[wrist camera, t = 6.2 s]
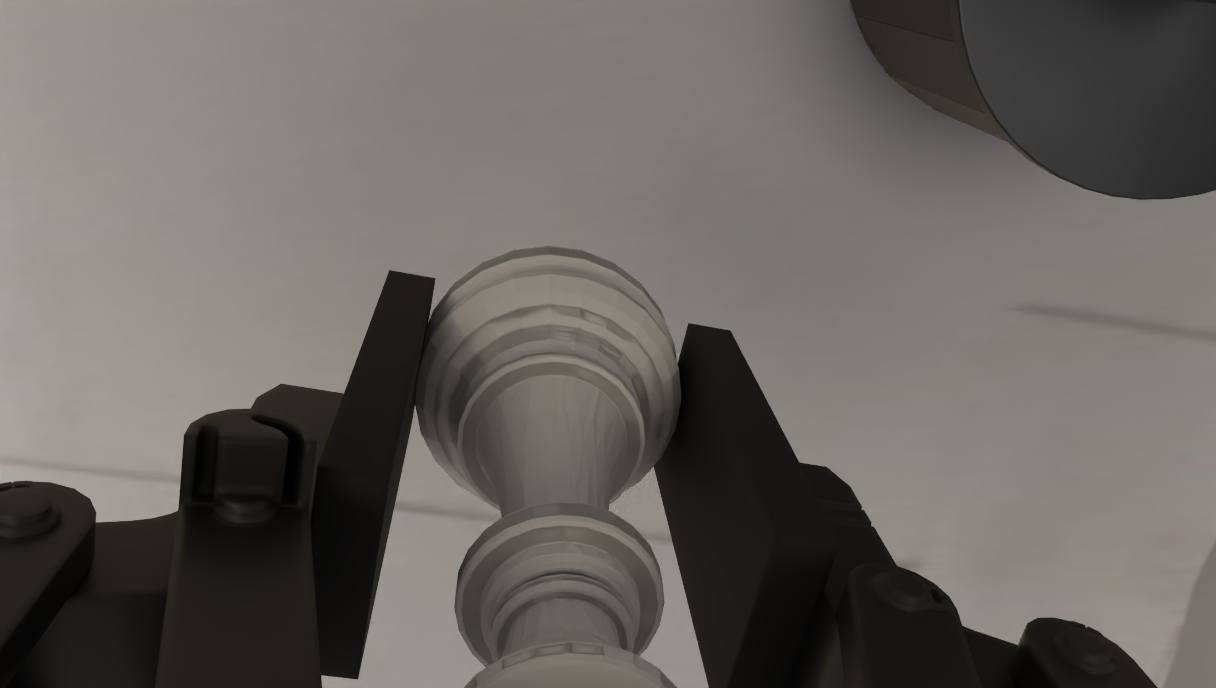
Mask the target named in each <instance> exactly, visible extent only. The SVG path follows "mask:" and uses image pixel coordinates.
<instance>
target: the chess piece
mask: <svg viewBox="0 0 1216 688" xmlns="http://www.w3.org/2000/svg"><path fill="white" fill-rule="evenodd" d="M680 404H681V387H680V376H679V367H678V364H677V362H676V352H675V346H674V343H673V340H672V337H671V335H670V332H669V330H668V327H667V325H666V322H665V320H664V317H663V314H662V312H661V309H660V308H659V307H658V305H657V304H656V303H655V301H654V300H653V299H652V298H651V296H650V295H649V294H648V292H647V291H646V290H645V288H644V287H643V286H642V285H641V283H640V282H638V281H637V280H636V279H634V278H633V277H632V276H630V275H629V274H628V273H626V272H625V271H624V270H622V269H621V268H620V267H618V266H617V265H616V264H614V263H613V262H610V261H608V260H605V259H603V258H600V257H598V256H595V255H593V254H590V253H588V252H585V251H583V250H576V249H568V248H561V247H553V246H543V247H535V248H527V249H519V250H513V251H510V252H508V253H505V254H503V255H500V256H498V257H495V258H493V259H490V260H488V261H485V262H483V263H481V264H480V265H478V266H477V267H476V268H474V269H473V270H472V271H470V272H469V273H467V274H466V275H465V276H463V277H462V278H461V279H459V280H458V281H457V282H455V283H454V284H453V286H452V287H451V288H450V290H449V291H448V292H447V293H446V295H445V296H444V297H443V299H442V300H441V301H440V302H439V304H438V305H437V306H436V307H435V309H434V310H433V313H432V315H431V318H430V320H429V323H428V326H427V331H426V336H425V342H424V348H423V354H422V359H421V362H420V366H419V372H418V378H417V384H416V395H415V406H416V411H417V416H418V421H419V425H420V430H421V434H422V436H423V438H424V440H425V442H426V444H427V445H428V447H429V449H430V451H431V453H432V455H433V457H434V459H435V461H436V462H437V463H438V464H439V465H440V466H441V467H442V468H443V469H444V470H445V471H446V473H447V474H448V475H449V476H450V477H451V478H452V479H453V480H454V481H455V482H456V483H457V484H458V485H459V486H461V487H463V488H464V489H466V490H467V491H469V492H470V493H472V494H474V495H475V496H477V497H478V498H480V499H482V500H483V501H485V502H487V503H488V504H490V505H492V506H493V507H495V508H496V509H498V510H500V511H501V514H502V518H501V519H500V520H498V521H497V522H495V523H494V524H493V525H491V526H490V527H488V528H487V529H486V530H485V531H484V532H483V533H482V534H481V535H480V537H479V538H478V539H477V540H476V541H475V542H474V544H473V545H472V546H471V547H470V548H469V549H468V551H467V554H466V556H465V558H464V560H463V562H462V565H461V567H460V569H459V572H458V580H457V588H456V597H455V607H454V608H455V613H456V618H457V623H458V628H459V631H460V633H461V635H462V637H463V638H464V640H465V642H466V644H467V646H468V647H469V649H470V651H471V653H472V654H473V655H474V656H475V657H476V658H477V659H478V660H479V661H480V662H481V663H482V664H483V665H484V666H485V667H486V668H485V669H484V670H482V671H481V672H479V673H478V674H476V675H475V676H474V677H473V679H472V680H471V681H470V682H469V683H468V684H467V685H466V686H465V687H464V688H677V687H676V686H675V685H674V684H673V683H672V682H671V681H670V680H669V679H668V678H667V677H666V676H665V674H664V673H663V672H662V671H661V670H660V669H659V668H657V667H655V666H654V665H652V664H651V663H649V662H647V661H646V660H644V659H642V658H641V657H639V656H640V655H641V654H642V653H643V652H644V651H645V650H646V649H647V647H648V646H649V644H650V642H651V640H652V638H653V636H654V635H655V633H656V631H657V629H658V627H659V625H660V620H661V616H662V611H663V606H664V594H663V584H662V577H661V572H660V568H659V565H658V562H657V560H656V558H655V556H654V553H653V551H652V549H651V547H650V545H649V544H648V543H647V541H646V540H645V539H644V538H643V537H642V536H641V535H640V533H639V532H638V531H637V530H636V529H635V528H634V527H633V526H632V525H631V524H629V523H628V522H626V521H624V520H623V519H621V518H620V517H618V516H617V515H615V514H614V513H612V512H610V511H608V510H609V504H611V503H612V502H614V501H615V500H616V499H617V498H618V497H619V496H620V495H621V494H622V493H623V492H625V491H626V490H627V489H629V488H630V487H632V486H633V485H635V484H636V483H638V482H639V481H640V480H641V479H642V478H643V477H644V476H645V475H646V474H647V473H648V472H649V470H650V469H651V468H652V467H653V466H654V465H655V464H656V463H657V462H658V460H659V459H660V458H661V457H662V455H663V453H664V451H665V449H666V447H667V445H668V443H669V441H670V439H671V437H672V435H673V433H674V431H675V429H676V424H677V419H678V414H679V409H680Z"/></svg>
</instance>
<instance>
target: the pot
mask: <svg viewBox="0 0 1216 688" xmlns="http://www.w3.org/2000/svg"><path fill="white" fill-rule="evenodd" d="M851 3H852V6H853V10H854V13H855V16H856V20H857V23H858V25H859V28H860V30H861V32H862V34H863V36H864V39H865V41H866V43H867V45H868V46H869V48H870V50H871V51H872V53H873V54H874V56H875V57H876V59H877V61H878V62H879V63H880V64H881V65H882V67H883V68H884V69H885V71H886V73H888V74H889V76H890V77H892V78H893V79H894V80H895V81H897V82H898V83H899V84H900V85H901V86H902V87H903V88H905V89H906V90H907V91H909V92H910V93H912V94H913V95H915V96H916V97H918V98H920V99H921V100H923V101H924V102H925V103H927V104H928V105H929V106H931V107H932V108H933V109H935V110H937V111H939V112H941V113H943V114H946V115H948V116H950V117H952V118H955V119H957V120H959V121H962V122H964V123H966V124H968V125H971V126H973V127H975V128H977V129H980V130H982V131H984V132H986V133H989V134H991V135H993V136H996V137H998V138H1000V139H1002V140H1005V141H1006V139H1005V138H1004V137H1003V136H1002V135H1001V133H1000V132H999V131H998V130H997V129H996V127H995V126H994V125H993V124H992V123H991V121H990V120H989V119H988V118H987V116H986V114H985V113H984V111H983V109H982V108H981V106H980V104H979V103H978V101H977V99H976V98H975V96H974V94H973V92H972V90H971V87H970V85H969V83H968V80H967V78H966V75H965V73H964V71H963V68H962V66H961V63H960V59H959V55H958V51H957V47H956V44H955V40H954V36H953V30H952V22H951V14H950V6H949V0H851ZM1007 142H1008V141H1007Z"/></svg>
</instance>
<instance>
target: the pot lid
mask: <svg viewBox="0 0 1216 688" xmlns="http://www.w3.org/2000/svg"><path fill="white" fill-rule="evenodd" d="M949 6H950V14H951V22H952V30H953V36H954V40H955V44H956V47H957V51H958V55H959V59H960V63H961V66H962V68H963V71H964V73H965V75H966V78H967V80H968V83H969V85H970V87H971V90H972V92H973V94H974V96H975V98H976V99H977V101H978V103H979V104H980V106H981V108H982V109H983V111H984V113H985V114H986V116H987V118H988V119H989V120H990V121H991V123H992V124H993V125H994V126H995V127H996V129H997V130H998V131H999V132H1000V133H1001V135H1002V136H1003V137H1004V138H1005V139H1006V141H1008V142H1009V143H1010V144H1011V145H1012V146H1013V147H1014V148H1015V149H1017V150H1018V151H1019V152H1020V153H1021V154H1022V155H1023V156H1024V157H1026V158H1027V159H1028V160H1030V161H1031V162H1033V163H1034V164H1036V165H1038V166H1039V167H1041V168H1042V169H1044V170H1045V171H1047V172H1049V173H1050V174H1052V175H1054V176H1057V177H1059V178H1061V179H1063V180H1066V181H1068V182H1070V183H1072V184H1075V185H1077V186H1079V187H1082V188H1084V189H1087V190H1091V191H1094V192H1098V193H1102V194H1106V195H1109V196H1114V197H1123V198H1131V199H1140V200H1144V199H1173V198H1179V197H1186V196H1193V195H1199V194H1203V193H1207V192H1210V191H1214V190H1216V0H949Z"/></svg>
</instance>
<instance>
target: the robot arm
mask: <svg viewBox="0 0 1216 688" xmlns="http://www.w3.org/2000/svg"><path fill="white" fill-rule="evenodd" d="M434 284H435V278H430V277H424V276H419V275H413V274H407V273H402V272H396V271H390V270H389V273H388V276H387V279H386V281H385V284H384V287H383V289H382V292H381V295H380V298H379V300H378V303H377V306H376V308H375V311H374V314H373V317H372V319H371V322H370V325H369V327H368V330H367V333H366V336H365V338H364V341H363V344H362V346H361V349H360V352H359V355H358V357H357V360H356V363H355V366H354V368H353V371H352V374H351V376H350V379H349V382H348V385H347V387H346V390H345V393H344V394H343V393H337V392H330V391H324V390H317V389H311V388H305V387H298V386H292V385H286V384H280V385H278V386H277V387H275V388H273V389H271V390H269V391H268V392H266V393H264V394H262V395H261V396H259V397H257V399H256V400H255V402H254V404H253V406H252V408H251V409H229V410H224V411H220V412H216V413H211V414H207V415H205V416H203V417H201V418H200V419H198V420H196V421H194V422H193V423H191V424H190V426H189V428H188V429H187V431H186V433H185V434H184V444H183V457H182V471H181V485H180V498H179V508H178V511H177V512H174V513H172V514H168V515H164V516H160V517H156V518H152V519H144V520H135V521H119V522H99V523H96V511H95V509H94V507H93V505H92V502H91V500H90V499H89V498H87V497H86V496H84V495H83V494H81V493H80V492H78V491H77V490H75V489H73V488H69V487H65V486H62V485H58V484H54V483H49V482H32V481H15V482H13V483H11V482H8V483H2V484H0V688H322V682H321V675H325V676H333V677H342V678H351V679H358V676H359V672H360V667H361V662H362V657H363V653H364V648H365V643H366V638H367V634H368V629H369V624H370V619H371V615H372V610H373V605H374V600H375V596H376V591H377V586H378V581H379V577H380V572H381V567H382V562H383V558H384V553H385V548H386V543H387V539H388V534H389V529H390V524H391V520H392V515H393V510H394V505H395V501H396V496H397V491H398V486H399V482H400V477H401V472H402V467H403V463H404V458H405V453H406V448H407V444H408V439H409V434H410V429H411V425H412V419H413V413H414V407H415V395H416V384H417V378H418V372H419V366H420V362H421V359H422V354H423V348H424V342H425V336H426V331H427V326H428V321H429V315H430V309H431V303H432V297H433V290H434ZM678 367H679V376H680V387H681V404H680V409H679V414H678V419H677V424H676V429H675V431H674V433H673V435H672V437H671V439H670V441H669V443H668V445H667V447H666V449H665V451H664V453H663V455H662V457H661V458H660V459H659V460H658V462H657V463H656V464H655V465H654V469H655V473H656V477H657V481H658V485H659V489H660V493H661V497H662V501H663V505H664V509H665V513H666V517H667V521H668V525H669V529H670V533H671V537H672V541H673V545H674V549H675V553H676V557H677V561H678V565H679V569H680V573H681V577H682V581H683V585H684V589H685V593H686V597H687V601H688V605H689V609H690V613H691V617H692V621H693V625H694V629H695V633H696V637H697V641H698V645H699V649H700V653H701V657H702V661H703V665H704V669H705V673H706V677H707V681H708V685H709V688H1157V687H1156V685H1155V684H1154V683H1153V682H1152V681H1151V680H1150V678H1149V677H1148V676H1147V675H1146V674H1145V673H1144V671H1143V670H1142V669H1141V668H1140V667H1139V666H1138V664H1137V663H1136V662H1135V661H1134V660H1133V659H1132V658H1131V657H1130V656H1129V655H1128V654H1127V653H1126V652H1124V651H1123V650H1122V649H1121V648H1120V647H1119V646H1118V645H1117V644H1115V643H1113V642H1112V641H1110V640H1109V639H1107V638H1105V637H1104V636H1103V635H1102V634H1101V633H1100V632H1098V631H1096V630H1094V629H1092V628H1090V627H1087V628H1086V627H1085V625H1083V624H1080V623H1077V622H1074V621H1071V622H1070V621H1066V620H1062V619H1058V618H1037V619H1035V620H1033V621H1031V622H1029V623H1027V626H1026V628H1025V630H1024V632H1023V635H1022V637H1021V639H1020V641H1019V644H1018V645H1016V644H1013V643H1010V642H1007V641H1004V640H1001V639H998V638H995V637H992V636H989V635H986V634H983V633H980V632H977V631H974V630H971V629H969V628H966V627H964V626H962V624H961V621H960V617H959V614H958V611H957V609H956V607H955V606H954V604H953V602H952V601H951V599H950V597H949V596H948V595H947V594H946V593H945V592H943V591H942V590H941V589H940V588H939V587H938V586H937V585H935V584H934V583H933V582H931V581H929V580H927V579H926V578H924V577H922V576H920V575H919V574H917V573H915V572H912V571H909V570H907V569H904V568H901V567H898V566H897V565H896V564H895V562H894V560H893V559H892V557H891V555H890V554H889V552H888V550H887V548H886V547H885V545H884V543H883V542H882V540H881V538H880V537H879V535H878V533H877V531H876V530H875V528H874V527H871V521H870V520H869V518H868V516H867V515H866V513H865V511H864V510H861V508H862V506H861V504H860V503H859V501H858V499H857V498H856V496H855V494H854V492H853V491H852V489H851V487H850V486H849V485H848V484H846V483H845V482H844V481H843V480H842V479H840V478H839V477H838V476H837V475H836V474H834V473H833V472H832V471H831V470H830V469H828V468H827V467H823V466H817V465H810V464H804V463H799V461H798V459H797V458H796V456H795V454H794V452H793V450H792V448H791V446H790V444H789V442H788V440H787V438H786V436H785V435H784V433H783V431H782V429H781V427H780V425H779V423H778V421H777V419H776V417H775V415H774V413H773V412H772V410H771V408H770V406H769V404H768V402H767V400H766V398H765V396H764V394H763V392H762V390H761V389H760V387H759V385H758V383H757V381H756V379H755V377H754V375H753V373H752V371H751V369H750V367H749V365H748V364H747V362H746V360H745V358H744V356H743V354H742V352H741V350H740V348H739V346H738V344H737V342H736V341H735V339H734V337H733V335H732V333H731V331H729V330H724V329H718V328H712V327H707V326H701V325H695V324H690V323H688V327H687V331H686V334H685V338H684V342H683V346H682V350H681V353H680V357H679V361H678Z"/></svg>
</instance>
